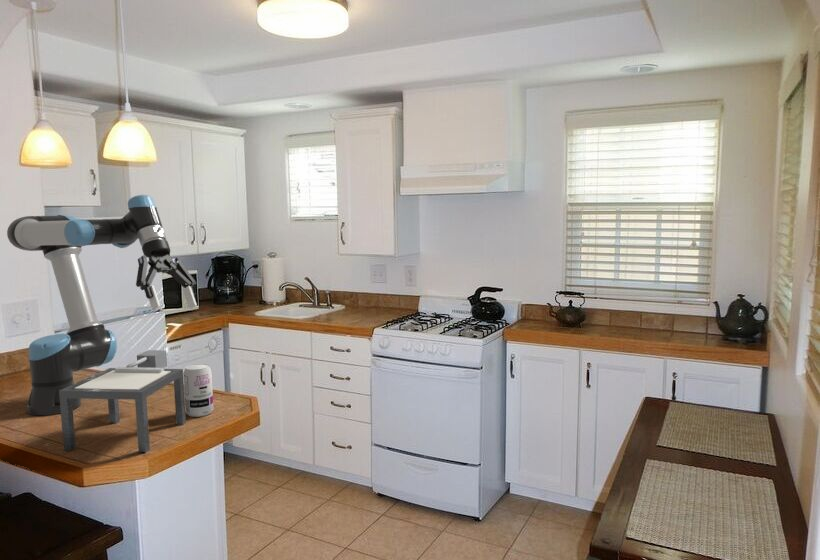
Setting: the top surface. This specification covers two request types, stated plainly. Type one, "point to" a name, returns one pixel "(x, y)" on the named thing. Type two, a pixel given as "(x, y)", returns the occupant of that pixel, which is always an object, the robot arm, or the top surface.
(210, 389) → the supplement can
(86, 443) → the top surface
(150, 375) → the trapdoor
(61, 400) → the stand
